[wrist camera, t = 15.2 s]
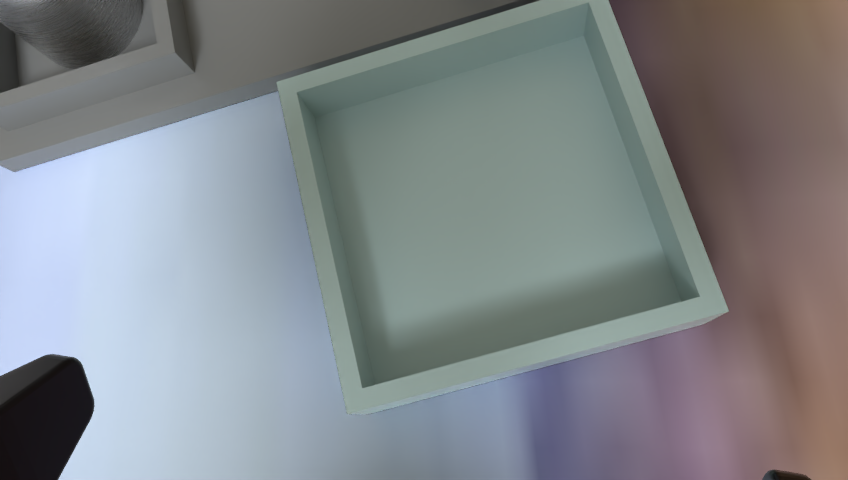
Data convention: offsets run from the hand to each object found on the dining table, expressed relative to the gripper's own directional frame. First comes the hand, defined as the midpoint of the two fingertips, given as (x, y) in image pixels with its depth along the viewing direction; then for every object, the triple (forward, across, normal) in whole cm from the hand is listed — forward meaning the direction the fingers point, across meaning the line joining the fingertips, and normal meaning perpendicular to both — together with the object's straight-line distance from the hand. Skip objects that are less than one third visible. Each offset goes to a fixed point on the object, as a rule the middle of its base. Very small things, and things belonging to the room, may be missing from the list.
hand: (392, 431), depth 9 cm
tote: (+15, 0, +5) cm, 15 cm away
